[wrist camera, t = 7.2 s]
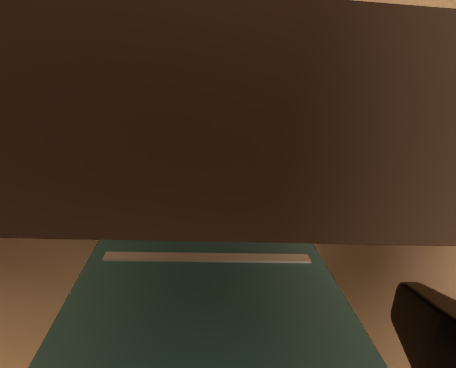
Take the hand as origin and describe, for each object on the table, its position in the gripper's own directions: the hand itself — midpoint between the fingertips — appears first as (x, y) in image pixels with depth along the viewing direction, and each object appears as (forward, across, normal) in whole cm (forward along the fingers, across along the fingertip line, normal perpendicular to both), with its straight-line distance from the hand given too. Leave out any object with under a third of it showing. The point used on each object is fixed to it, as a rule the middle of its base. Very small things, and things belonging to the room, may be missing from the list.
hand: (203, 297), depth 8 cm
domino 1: (+4, 0, -4) cm, 6 cm away
